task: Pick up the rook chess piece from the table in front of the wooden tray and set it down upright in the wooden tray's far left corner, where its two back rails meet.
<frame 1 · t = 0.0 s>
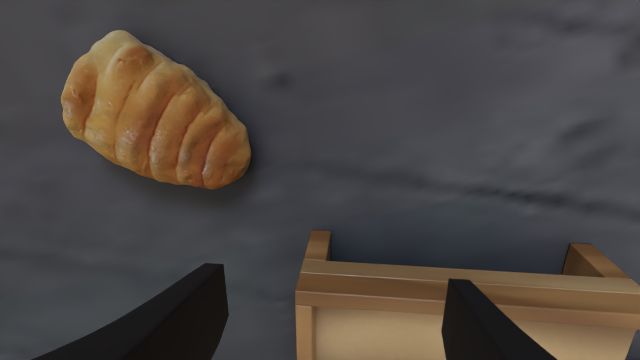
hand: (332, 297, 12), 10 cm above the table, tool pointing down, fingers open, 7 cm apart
pastry: (171, 111, 21), on the table
wooden tray: (433, 331, 24), on the table
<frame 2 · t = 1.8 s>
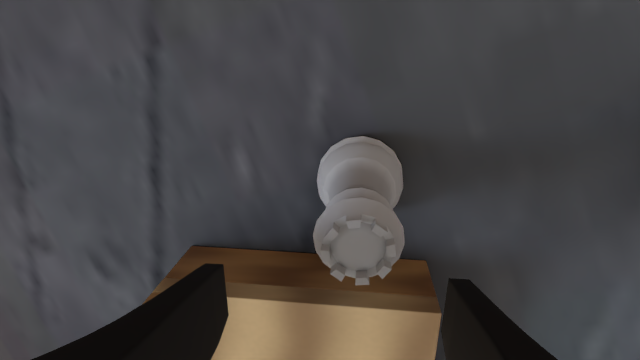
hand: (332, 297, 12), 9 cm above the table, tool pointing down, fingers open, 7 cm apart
rook chess piece: (359, 173, 20), on the table
wooden tray: (306, 357, 25), on the table
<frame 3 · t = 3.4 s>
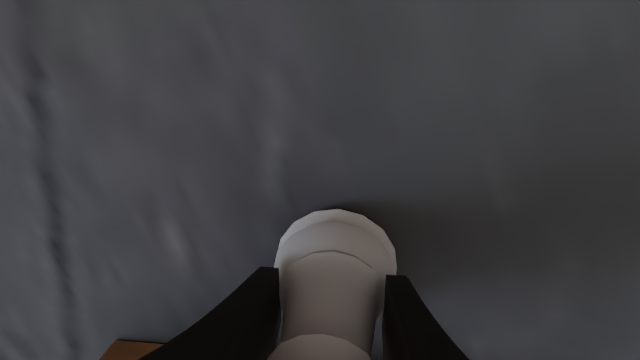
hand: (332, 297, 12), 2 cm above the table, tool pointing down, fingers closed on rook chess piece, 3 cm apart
rook chess piece: (336, 254, 14), on the table, touching gripper
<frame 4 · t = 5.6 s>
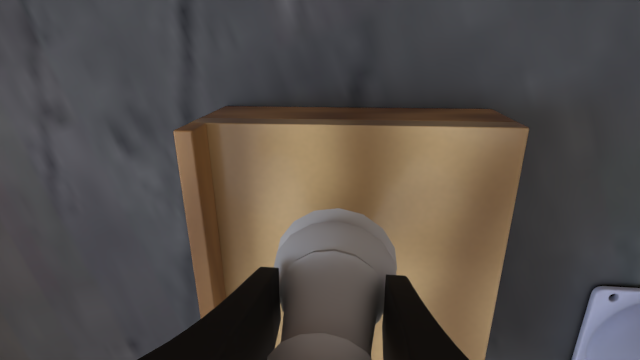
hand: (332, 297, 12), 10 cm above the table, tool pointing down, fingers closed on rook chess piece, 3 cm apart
rook chess piece: (336, 253, 14), point 7 cm above the table, touching gripper
wooden tray: (350, 241, 22), on the table
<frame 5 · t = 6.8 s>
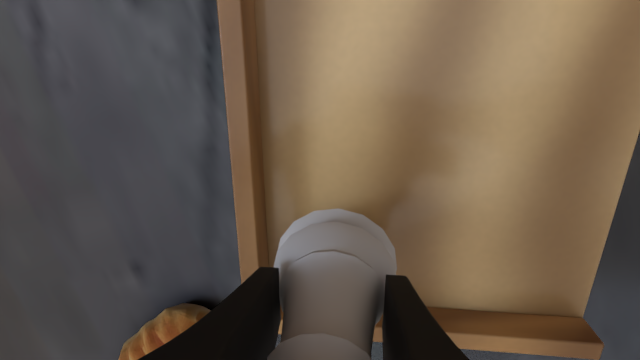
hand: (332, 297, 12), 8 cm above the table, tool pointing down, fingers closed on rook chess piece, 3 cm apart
pastry: (179, 351, 25), on the table
rook chess piece: (336, 253, 14), point 6 cm above the table, touching gripper
wooden tray: (412, 119, 18), on the table
when the fingers open (7 cm above the table, at t = 7.7 s): rook chess piece stays where it is, resting on wooden tray.
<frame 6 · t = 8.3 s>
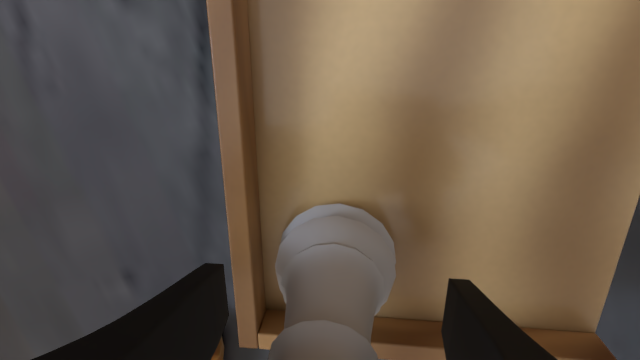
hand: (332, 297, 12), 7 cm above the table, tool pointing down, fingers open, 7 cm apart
rook chess piece: (337, 247, 15), point 4 cm above the table, touching wooden tray
wooden tray: (415, 123, 17), on the table
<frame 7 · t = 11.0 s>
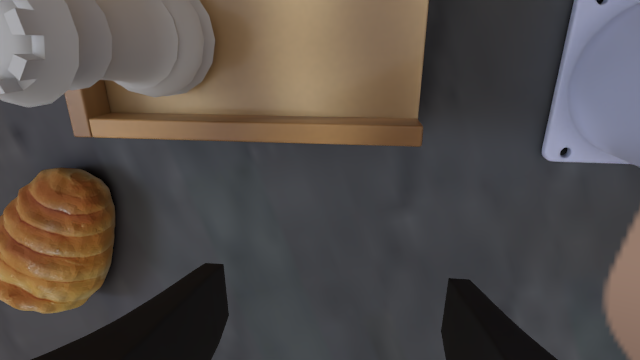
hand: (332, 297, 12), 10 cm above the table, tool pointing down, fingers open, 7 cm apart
pastry: (71, 230, 24), on the table
rook chess piece: (168, 38, 15), point 4 cm above the table, touching wooden tray
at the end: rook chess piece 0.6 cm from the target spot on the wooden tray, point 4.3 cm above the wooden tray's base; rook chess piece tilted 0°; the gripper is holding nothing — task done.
